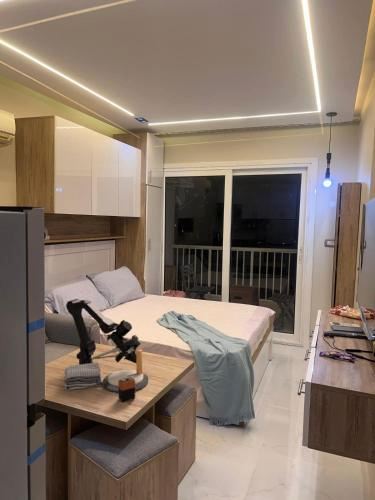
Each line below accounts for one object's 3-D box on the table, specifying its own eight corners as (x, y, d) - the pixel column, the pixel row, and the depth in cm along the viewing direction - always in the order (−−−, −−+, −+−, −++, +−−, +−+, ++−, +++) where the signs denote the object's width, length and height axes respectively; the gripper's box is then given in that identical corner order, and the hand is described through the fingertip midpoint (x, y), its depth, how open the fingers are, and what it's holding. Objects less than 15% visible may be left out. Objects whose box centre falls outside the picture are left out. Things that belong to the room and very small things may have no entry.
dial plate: (97, 392, 174) (97, 388, 174) (109, 372, 197) (109, 369, 197) (144, 393, 173) (144, 390, 173) (151, 373, 196) (151, 370, 196)
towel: (64, 379, 189) (64, 364, 188) (100, 374, 195) (100, 360, 194) (64, 392, 175) (64, 376, 174) (103, 387, 180) (103, 371, 180)
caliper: (123, 353, 226) (123, 343, 226) (123, 353, 226) (123, 343, 225) (90, 359, 216) (90, 348, 216) (91, 359, 215) (91, 349, 215)
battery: (118, 398, 168) (118, 378, 167) (131, 395, 172) (131, 374, 171) (121, 402, 165) (121, 381, 164) (135, 398, 168) (135, 378, 167)
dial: (118, 390, 172) (117, 363, 171) (101, 377, 187) (101, 352, 185) (150, 380, 184) (150, 355, 183) (133, 368, 198) (133, 345, 197)
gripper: (119, 337, 182) (139, 361, 180) (137, 326, 200) (155, 348, 197) (106, 350, 186) (126, 374, 183) (125, 338, 203) (142, 360, 201)
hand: (138, 363), depth 191 cm, fingers closed, pressing on dial
